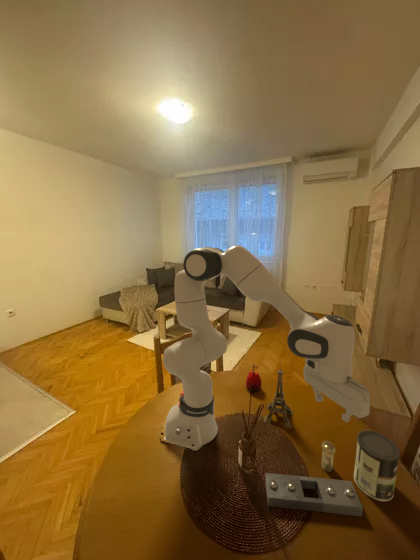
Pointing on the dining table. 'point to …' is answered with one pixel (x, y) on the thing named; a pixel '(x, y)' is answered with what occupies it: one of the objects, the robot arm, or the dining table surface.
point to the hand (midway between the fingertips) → (331, 409)
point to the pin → (327, 455)
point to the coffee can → (376, 465)
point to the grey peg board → (330, 492)
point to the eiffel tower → (279, 404)
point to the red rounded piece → (253, 381)
